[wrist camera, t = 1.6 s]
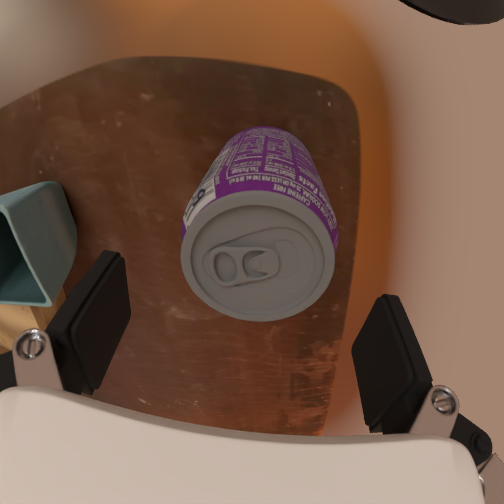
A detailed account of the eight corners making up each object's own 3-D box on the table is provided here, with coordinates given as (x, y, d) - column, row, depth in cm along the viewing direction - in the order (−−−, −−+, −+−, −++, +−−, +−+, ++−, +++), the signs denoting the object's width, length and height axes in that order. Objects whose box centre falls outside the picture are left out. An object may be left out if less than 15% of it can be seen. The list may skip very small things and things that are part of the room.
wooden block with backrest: (-26, 237, 28) (-68, 278, 20) (55, 258, 28) (9, 315, 20) (3, 313, 35) (-26, 354, 28) (81, 341, 36) (54, 394, 28)
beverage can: (225, 217, 25) (192, 330, 14) (210, 130, 21) (148, 193, 11) (314, 211, 24) (341, 324, 14) (310, 121, 20) (349, 174, 10)
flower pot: (101, 245, 27) (53, 309, 19) (41, 251, 28) (-5, 305, 20) (71, 159, 22) (3, 204, 15) (12, 178, 23) (-47, 222, 16)
